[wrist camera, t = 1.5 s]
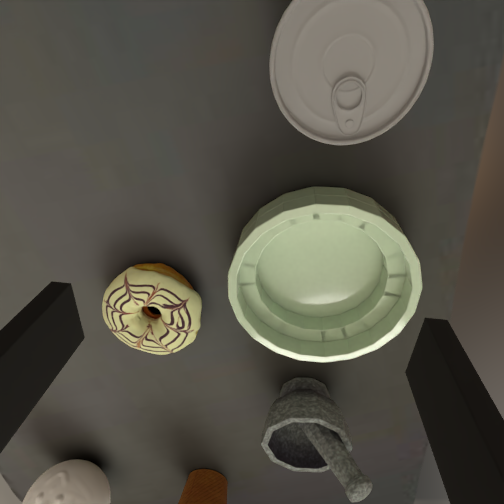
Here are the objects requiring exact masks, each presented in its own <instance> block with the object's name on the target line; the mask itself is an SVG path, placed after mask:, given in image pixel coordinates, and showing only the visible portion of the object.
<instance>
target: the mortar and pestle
mask: <svg viewBox="0 0 504 504" xmlns="http://www.w3.org/2000/svg"><path fill="white" fill-rule="evenodd" d="M261 445H262V447H263V448H264V450H265V451H266V453H267V455H268V456H269V458H270V459H271V461H273V462H275V463H277V464H279V465H282V466H284V467H286V468H288V469H291V470H293V471H302V472H323V471H326V470H328V469H331V470H332V471H333V473H334V474H335V475H336V477H337V478H338V479H339V481H340V482H341V484H342V485H343V486H344V488H345V494H346V495H347V497H348V498H349V500H350V501H351V502H359V501H361V500H363V499H364V498H366V497H367V495H368V494H369V493H370V491H371V489H372V487H373V485H372V483H371V481H370V479H369V478H368V477H367V476H366V475H364V474H362V472H361V471H360V469H359V468H358V466H357V465H356V463H355V461H354V460H353V458H352V457H351V455H350V454H349V453H350V451H351V450H352V441H351V436H350V432H349V429H348V426H347V423H346V421H345V419H344V417H343V415H342V413H341V411H340V409H339V407H338V406H337V405H336V403H335V402H334V401H333V400H332V399H330V394H329V392H328V390H327V388H326V386H325V384H323V383H321V382H319V381H317V380H315V379H313V378H294V379H292V380H290V381H288V382H286V383H284V384H283V387H282V389H281V392H280V398H278V399H276V401H275V402H274V403H273V405H272V406H271V408H270V410H269V413H268V416H267V419H266V422H265V425H264V429H263V433H262V442H261Z"/></svg>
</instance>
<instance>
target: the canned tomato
mask: <svg viewBox="0 0 504 504" xmlns="http://www.w3.org/2000/svg"><path fill="white" fill-rule="evenodd" d="M433 48H434V42H433V27H432V24H431V20H430V16H429V12H428V10H427V8H426V6H425V4H424V2H423V0H292V2H291V3H290V4H289V6H288V7H287V9H286V10H285V11H284V13H283V15H282V17H281V20H280V22H279V24H278V26H277V28H276V31H275V34H274V38H273V41H272V45H271V52H270V61H269V69H270V81H271V86H272V90H273V94H274V97H275V99H276V101H277V103H278V106H279V108H280V110H281V111H282V113H283V114H284V116H285V117H286V118H287V120H288V121H289V122H290V123H291V124H292V125H293V126H294V127H295V128H296V129H297V130H298V131H300V132H301V133H303V134H304V135H306V136H308V137H309V138H311V139H313V140H316V141H319V142H322V143H325V144H333V145H350V144H357V143H360V142H364V141H368V140H370V139H372V138H374V137H376V136H379V135H381V134H383V133H384V132H386V131H387V130H388V129H390V128H391V127H393V126H394V125H395V124H397V123H398V122H399V121H400V120H401V119H402V118H403V117H404V116H405V115H406V114H407V113H408V111H409V110H410V109H411V107H412V106H413V104H414V103H415V102H416V100H417V99H418V97H419V95H420V93H421V91H422V89H423V87H424V85H425V83H426V81H427V78H428V74H429V71H430V68H431V65H432V57H433Z"/></svg>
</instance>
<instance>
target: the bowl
mask: <svg viewBox="0 0 504 504" xmlns="http://www.w3.org/2000/svg"><path fill="white" fill-rule="evenodd" d="M421 291H422V278H421V268H420V261H419V259H418V257H417V255H416V254H415V252H414V250H413V248H412V247H411V245H410V243H409V241H408V239H407V238H406V236H405V234H404V233H403V231H402V229H401V228H400V226H399V224H398V223H397V221H396V219H395V218H394V216H393V215H392V214H390V213H389V212H388V211H387V210H386V209H384V208H383V207H382V206H381V205H380V204H378V203H377V202H376V201H375V200H374V199H372V198H370V197H367V196H365V195H362V194H359V193H357V192H354V191H351V190H349V189H346V188H336V187H316V186H314V187H309V188H305V189H301V190H297V191H293V192H289V193H285V194H283V195H281V196H280V197H278V198H277V199H275V200H273V201H272V202H270V203H268V204H267V205H265V206H264V207H262V208H260V209H259V210H258V212H257V213H256V214H255V215H254V216H253V218H252V219H251V220H250V221H249V222H248V223H247V225H246V226H245V227H244V228H243V230H242V233H241V236H240V238H239V241H238V244H237V246H236V249H235V252H234V255H233V259H232V262H231V265H230V268H229V272H228V298H229V300H230V303H231V305H232V308H233V310H234V313H235V315H236V318H237V320H238V321H239V323H240V324H241V325H242V326H243V327H244V328H245V330H246V331H247V332H248V333H249V334H250V335H251V337H252V338H254V339H255V340H257V341H258V342H260V343H261V344H263V345H264V346H266V347H267V348H269V349H270V350H272V351H274V352H276V353H279V354H282V355H285V356H288V357H291V358H294V359H297V360H301V361H312V362H323V363H325V362H333V361H341V360H348V359H352V358H356V357H358V356H361V355H364V354H366V353H369V352H371V351H374V350H376V349H379V348H380V347H381V346H383V345H384V344H385V343H387V342H388V341H390V340H391V339H392V338H394V337H395V336H396V335H398V334H399V333H400V332H401V331H402V329H403V328H404V327H405V325H406V324H407V322H408V321H409V320H410V318H411V317H412V316H413V314H414V313H415V311H416V307H417V304H418V301H419V297H420V294H421Z"/></svg>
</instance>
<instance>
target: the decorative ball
mask: <svg viewBox="0 0 504 504" xmlns="http://www.w3.org/2000/svg"><path fill="white" fill-rule="evenodd" d="M110 497H111V494H110V486H109V482H108V480H107V477H106V475H105V474H104V472H103V471H102V470H101V469H100V468H99V467H98V466H97V465H95V464H94V463H92V462H89V461H86V460H80V459H75V460H68V461H64V462H61V463H59V464H57V465H55V466H53V467H51V468H50V469H48V470H47V471H46V472H44V473H43V474H42V475H41V476H40V477H39V478H38V479H37V480H36V481H35V482H34V484H33V485H32V486H31V488H30V489H29V491H28V493H27V494H26V496H25V499H24V501H23V504H110Z"/></svg>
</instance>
